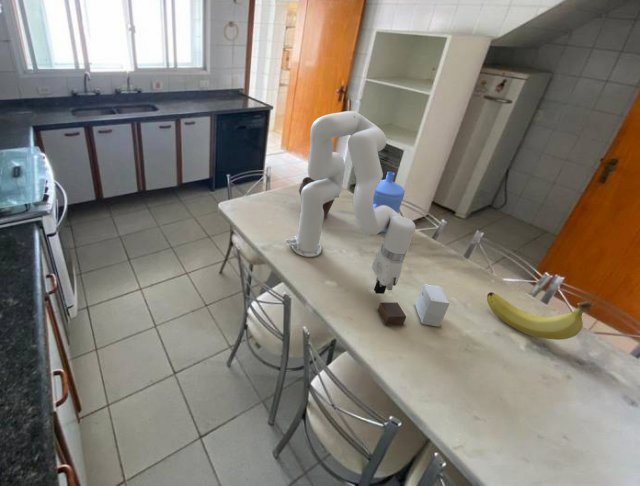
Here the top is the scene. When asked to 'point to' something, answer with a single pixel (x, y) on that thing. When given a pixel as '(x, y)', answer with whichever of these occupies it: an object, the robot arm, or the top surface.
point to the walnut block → (391, 313)
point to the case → (326, 205)
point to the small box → (432, 305)
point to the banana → (539, 319)
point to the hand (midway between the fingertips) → (378, 292)
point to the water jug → (388, 194)
